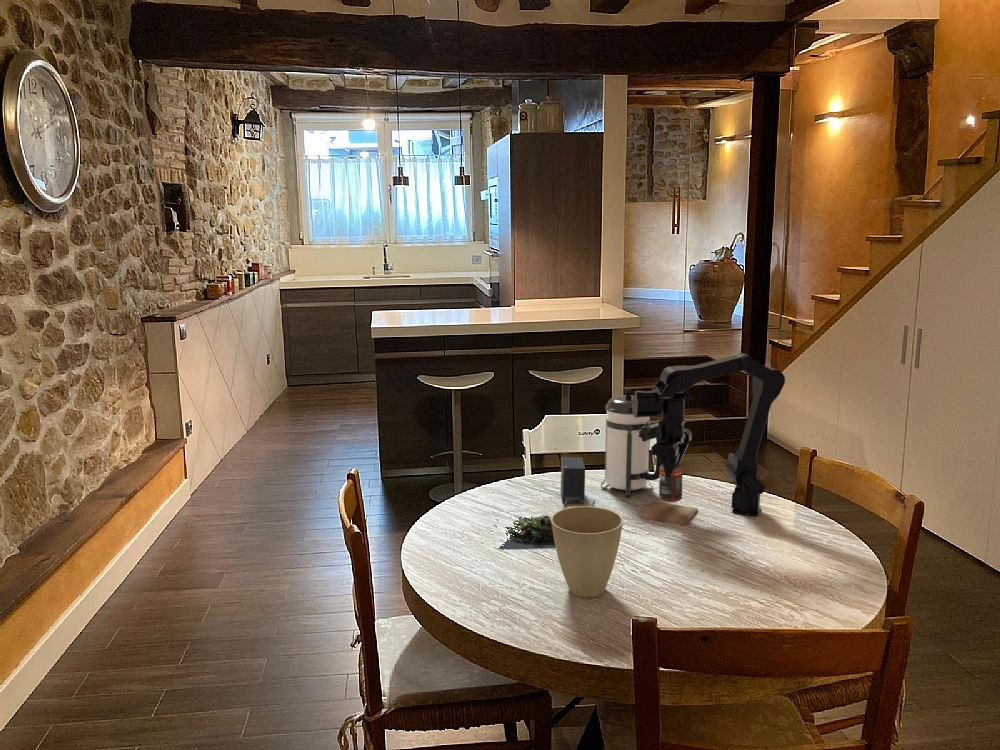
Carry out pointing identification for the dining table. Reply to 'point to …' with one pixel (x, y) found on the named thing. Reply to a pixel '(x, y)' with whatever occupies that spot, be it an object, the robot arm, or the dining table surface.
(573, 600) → the dining table surface
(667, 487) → the supplement bottle
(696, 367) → the robot arm
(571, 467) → the small box
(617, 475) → the coffee press
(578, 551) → the plant pot
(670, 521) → the walnut trivet
